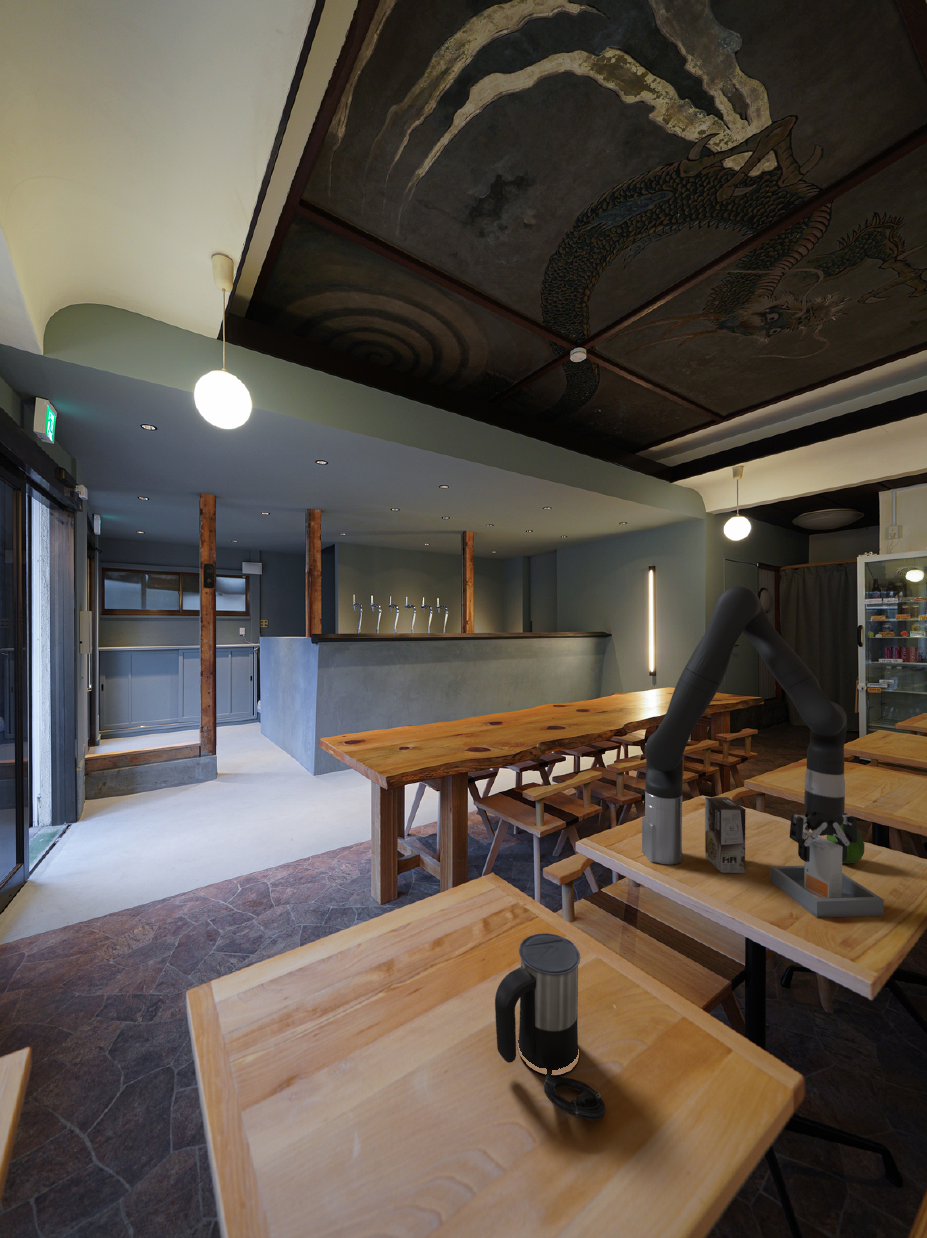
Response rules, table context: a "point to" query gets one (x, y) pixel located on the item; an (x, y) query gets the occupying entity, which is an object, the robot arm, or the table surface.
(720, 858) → the coffee box
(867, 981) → the table surface
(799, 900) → the shallow gray box
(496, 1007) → the milk frother
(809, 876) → the skincare box
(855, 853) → the avocado
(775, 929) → the table surface
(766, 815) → the table surface
